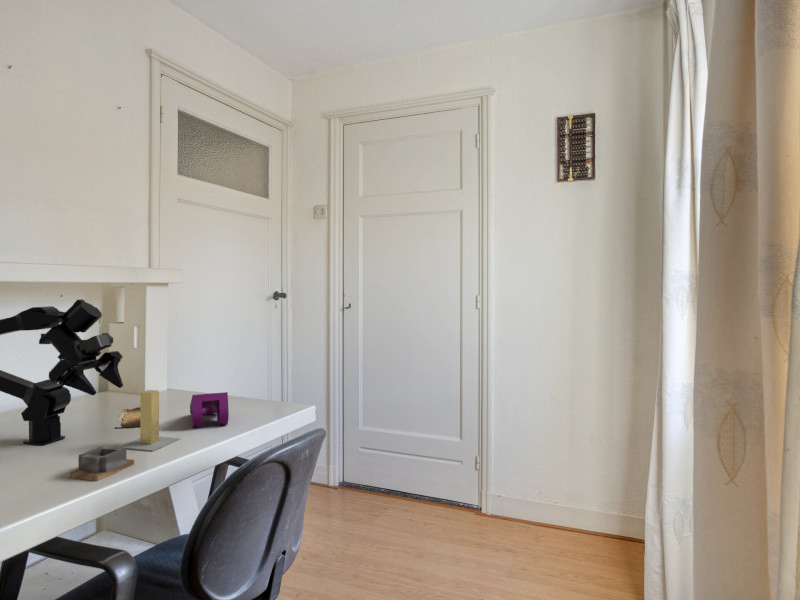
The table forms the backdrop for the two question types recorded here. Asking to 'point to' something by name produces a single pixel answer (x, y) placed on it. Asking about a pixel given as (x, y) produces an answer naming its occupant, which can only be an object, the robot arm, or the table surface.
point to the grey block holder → (101, 463)
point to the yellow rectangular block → (149, 417)
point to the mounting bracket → (209, 408)
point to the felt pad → (145, 447)
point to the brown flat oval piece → (130, 418)
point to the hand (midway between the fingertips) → (108, 390)
